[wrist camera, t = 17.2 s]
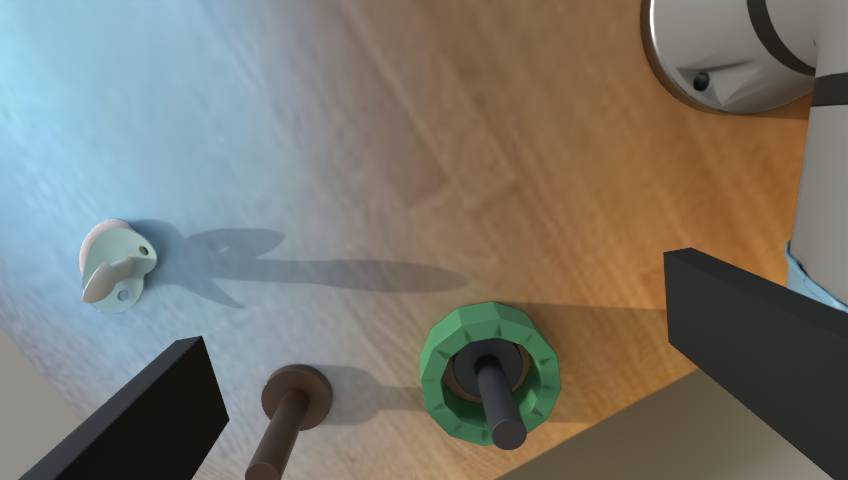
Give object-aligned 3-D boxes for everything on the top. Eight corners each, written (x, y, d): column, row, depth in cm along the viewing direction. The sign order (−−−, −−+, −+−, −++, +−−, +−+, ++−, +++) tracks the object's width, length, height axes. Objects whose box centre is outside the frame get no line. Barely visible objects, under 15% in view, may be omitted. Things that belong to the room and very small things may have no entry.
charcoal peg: (515, 324, 40) (548, 388, 30) (523, 385, 41) (558, 464, 31) (447, 336, 40) (458, 403, 30) (458, 397, 41) (472, 479, 31)
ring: (539, 292, 39) (551, 308, 35) (554, 406, 42) (567, 431, 38) (410, 315, 39) (410, 333, 36) (433, 427, 42) (435, 454, 38)
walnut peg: (323, 358, 40) (294, 432, 30) (339, 417, 41) (316, 506, 32) (257, 370, 40) (206, 448, 30) (274, 429, 41) (231, 520, 32)
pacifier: (73, 277, 38) (140, 311, 38) (5, 304, 32) (86, 344, 32) (106, 201, 36) (175, 238, 37) (41, 214, 30) (125, 258, 31)
